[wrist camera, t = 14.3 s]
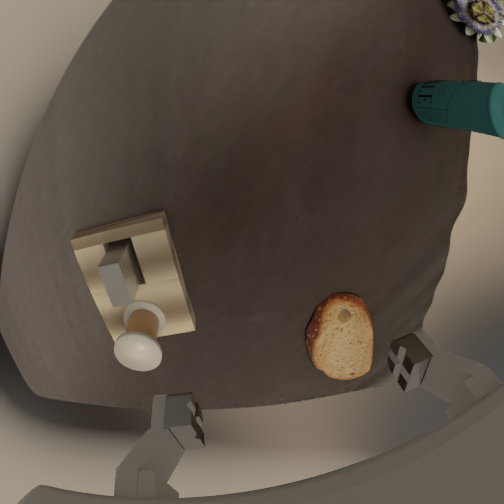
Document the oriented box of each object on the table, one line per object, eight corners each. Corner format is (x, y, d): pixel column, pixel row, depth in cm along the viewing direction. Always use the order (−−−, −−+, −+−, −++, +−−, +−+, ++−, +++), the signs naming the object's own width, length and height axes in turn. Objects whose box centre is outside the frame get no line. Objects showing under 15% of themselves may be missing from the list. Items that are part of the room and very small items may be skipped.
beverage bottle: (435, 128, 35) (547, 156, 17) (401, 120, 34) (523, 143, 16) (436, 86, 32) (549, 97, 14) (403, 75, 31) (524, 74, 13)
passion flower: (432, 22, 31) (438, -16, 21) (456, -5, 27) (464, -41, 16) (483, 63, 30) (503, 33, 19) (505, 33, 25) (524, 3, 14)
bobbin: (118, 303, 35) (106, 339, 29) (158, 296, 36) (151, 332, 29) (133, 336, 38) (125, 373, 31) (171, 330, 38) (168, 368, 32)
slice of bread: (356, 375, 54) (364, 388, 51) (278, 369, 49) (283, 385, 46) (405, 304, 48) (416, 316, 45) (326, 285, 43) (335, 298, 40)
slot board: (78, 231, 33) (70, 240, 31) (165, 209, 34) (161, 217, 32) (119, 329, 40) (115, 342, 38) (195, 317, 41) (195, 330, 39)
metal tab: (115, 237, 35) (97, 267, 28) (133, 233, 35) (118, 263, 28) (127, 272, 37) (113, 307, 30) (144, 269, 37) (133, 304, 30)
